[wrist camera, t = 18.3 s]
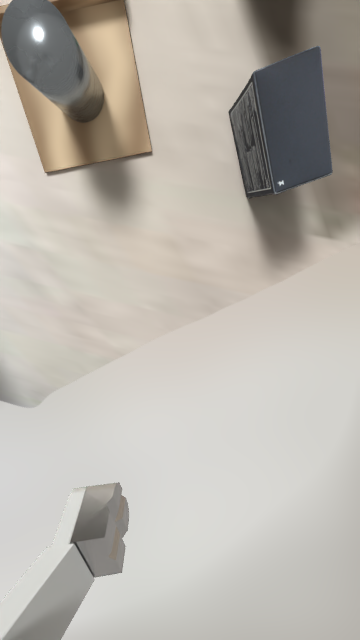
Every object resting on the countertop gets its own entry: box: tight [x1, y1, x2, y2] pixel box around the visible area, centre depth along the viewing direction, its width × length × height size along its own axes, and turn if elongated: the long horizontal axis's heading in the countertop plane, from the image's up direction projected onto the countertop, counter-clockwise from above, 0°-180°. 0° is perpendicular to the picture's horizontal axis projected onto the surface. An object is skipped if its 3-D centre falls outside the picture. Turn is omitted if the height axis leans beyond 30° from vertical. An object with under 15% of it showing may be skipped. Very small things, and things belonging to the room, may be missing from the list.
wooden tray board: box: [0, 0, 152, 173], centre depth 28 cm, size 14×28×2 cm, turn 10°
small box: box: [229, 46, 332, 199], centre depth 30 cm, size 11×6×10 cm, turn 19°
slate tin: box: [1, 0, 104, 123], centre depth 26 cm, size 6×6×11 cm
